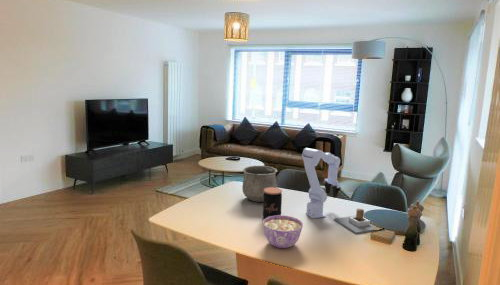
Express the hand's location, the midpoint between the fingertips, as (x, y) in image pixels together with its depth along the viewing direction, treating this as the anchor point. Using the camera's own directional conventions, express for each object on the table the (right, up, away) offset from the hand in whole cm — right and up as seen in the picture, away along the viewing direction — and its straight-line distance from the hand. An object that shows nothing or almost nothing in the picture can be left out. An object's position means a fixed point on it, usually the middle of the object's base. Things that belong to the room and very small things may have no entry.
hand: (331, 195), depth 230 cm
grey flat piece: (+11, -14, -21) cm, 28 cm away
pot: (-46, -6, +15) cm, 49 cm away
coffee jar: (-39, -12, -17) cm, 44 cm away
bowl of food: (-36, -18, -48) cm, 63 cm away
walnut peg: (+11, -13, -21) cm, 27 cm away
